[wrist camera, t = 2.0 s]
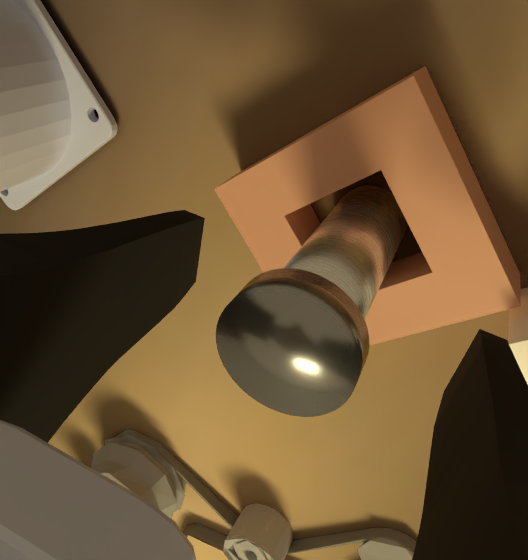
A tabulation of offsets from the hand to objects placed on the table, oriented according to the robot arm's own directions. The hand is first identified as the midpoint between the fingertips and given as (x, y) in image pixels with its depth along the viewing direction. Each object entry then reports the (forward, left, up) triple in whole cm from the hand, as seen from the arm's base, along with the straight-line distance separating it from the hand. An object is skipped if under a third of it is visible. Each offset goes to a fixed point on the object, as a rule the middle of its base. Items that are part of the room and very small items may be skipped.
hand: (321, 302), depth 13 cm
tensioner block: (0, 0, -6) cm, 6 cm away
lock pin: (0, 0, -6) cm, 6 cm away
